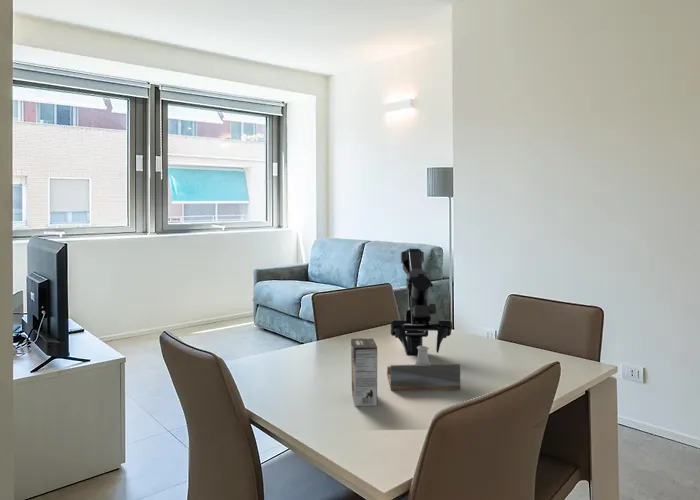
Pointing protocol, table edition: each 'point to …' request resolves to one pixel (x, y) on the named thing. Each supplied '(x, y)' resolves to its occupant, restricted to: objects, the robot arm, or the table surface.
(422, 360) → the flask
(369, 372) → the coffee box
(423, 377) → the chalkboard eraser
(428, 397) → the table surface
